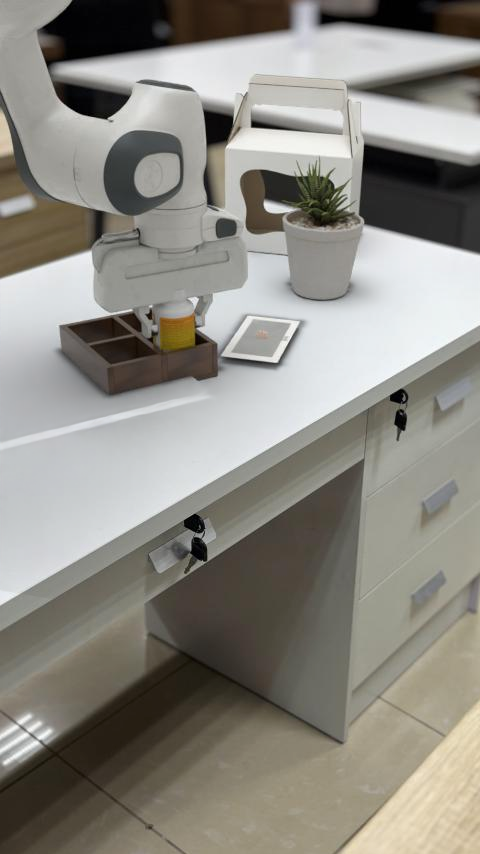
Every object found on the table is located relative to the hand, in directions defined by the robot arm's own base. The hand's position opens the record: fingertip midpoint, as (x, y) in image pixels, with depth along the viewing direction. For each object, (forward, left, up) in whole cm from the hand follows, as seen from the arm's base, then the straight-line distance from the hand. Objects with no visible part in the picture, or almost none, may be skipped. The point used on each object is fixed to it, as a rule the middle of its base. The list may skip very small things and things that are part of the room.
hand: (174, 331), depth 122 cm
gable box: (+44, +38, -6) cm, 58 cm away
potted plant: (+35, +16, -6) cm, 38 cm away
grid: (-3, +4, -6) cm, 8 cm away
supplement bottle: (0, 0, -4) cm, 4 cm away
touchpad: (+15, +2, -6) cm, 16 cm away
